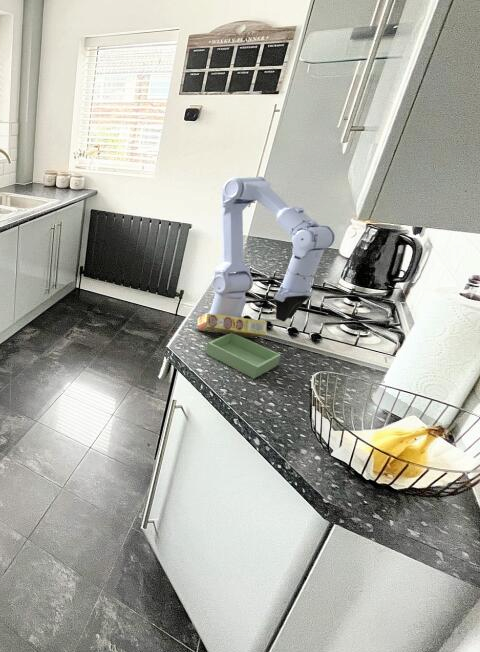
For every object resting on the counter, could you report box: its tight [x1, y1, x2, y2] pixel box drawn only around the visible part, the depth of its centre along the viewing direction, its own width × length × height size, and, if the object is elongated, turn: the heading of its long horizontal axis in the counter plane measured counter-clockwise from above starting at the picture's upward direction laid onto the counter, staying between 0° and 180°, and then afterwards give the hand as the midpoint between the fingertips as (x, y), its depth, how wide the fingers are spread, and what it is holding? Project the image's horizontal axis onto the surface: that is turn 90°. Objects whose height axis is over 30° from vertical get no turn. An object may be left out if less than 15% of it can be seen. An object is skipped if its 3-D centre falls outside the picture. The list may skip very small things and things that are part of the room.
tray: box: [204, 332, 282, 379], centre depth 114 cm, size 11×13×4 cm
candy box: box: [197, 313, 268, 339], centre depth 123 cm, size 9×4×15 cm
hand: (283, 318), depth 114 cm, fingers closed
